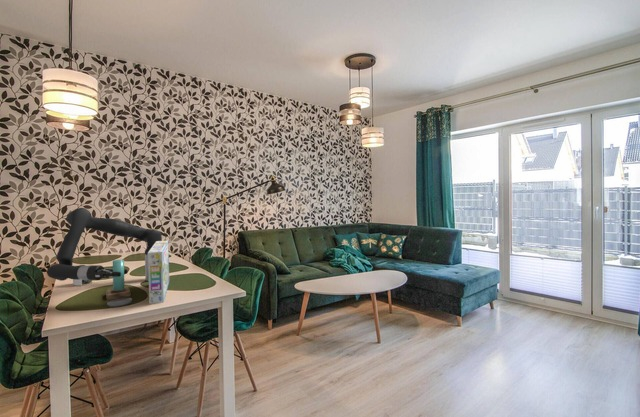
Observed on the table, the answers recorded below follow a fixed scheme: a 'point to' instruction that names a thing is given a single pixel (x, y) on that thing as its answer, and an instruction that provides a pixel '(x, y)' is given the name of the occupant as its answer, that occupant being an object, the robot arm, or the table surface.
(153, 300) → the game box
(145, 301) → the table surface
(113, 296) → the pocket block
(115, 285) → the tall teal cylinder
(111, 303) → the coaster
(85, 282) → the medicine bottle
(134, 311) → the table surface
